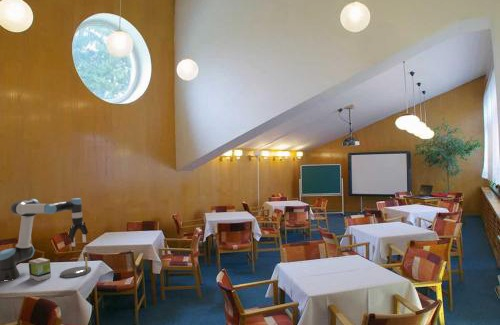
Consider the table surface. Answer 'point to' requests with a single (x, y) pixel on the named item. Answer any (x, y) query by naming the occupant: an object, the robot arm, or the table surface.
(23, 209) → the robot arm
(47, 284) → the table surface
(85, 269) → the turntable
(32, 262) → the tea box
